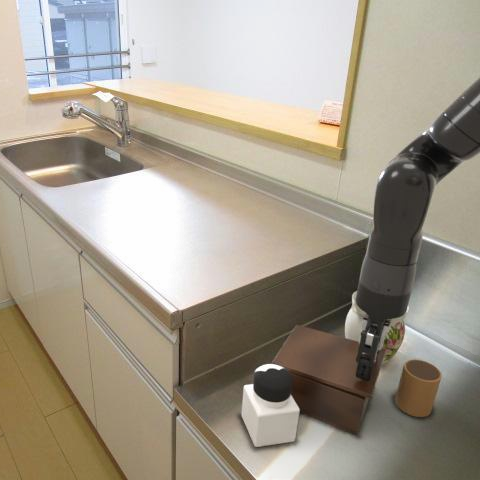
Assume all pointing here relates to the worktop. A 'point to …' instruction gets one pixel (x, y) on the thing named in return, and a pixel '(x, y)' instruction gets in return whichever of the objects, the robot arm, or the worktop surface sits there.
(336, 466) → the worktop surface
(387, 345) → the pitcher
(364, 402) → the chest
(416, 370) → the tan cylinder
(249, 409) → the medicine bottle
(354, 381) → the lid
